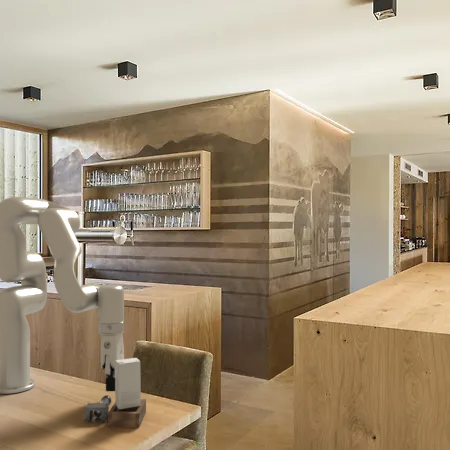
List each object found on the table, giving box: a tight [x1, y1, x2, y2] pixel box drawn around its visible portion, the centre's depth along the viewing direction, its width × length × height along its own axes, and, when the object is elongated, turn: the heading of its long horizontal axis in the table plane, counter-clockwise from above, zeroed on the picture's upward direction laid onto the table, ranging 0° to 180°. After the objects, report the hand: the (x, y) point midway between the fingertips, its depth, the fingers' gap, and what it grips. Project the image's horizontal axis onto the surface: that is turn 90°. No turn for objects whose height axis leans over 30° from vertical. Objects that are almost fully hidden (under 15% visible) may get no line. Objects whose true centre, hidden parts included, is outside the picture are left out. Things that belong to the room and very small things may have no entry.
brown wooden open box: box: [107, 398, 147, 428], centre depth 126 cm, size 8×10×4 cm
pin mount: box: [84, 402, 110, 423], centre depth 126 cm, size 5×3×4 cm, turn 90°
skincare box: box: [114, 357, 142, 409], centre depth 126 cm, size 6×4×12 cm
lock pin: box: [93, 395, 112, 417], centre depth 131 cm, size 3×9×3 cm, turn 0°
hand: (112, 390), depth 140 cm, fingers closed
